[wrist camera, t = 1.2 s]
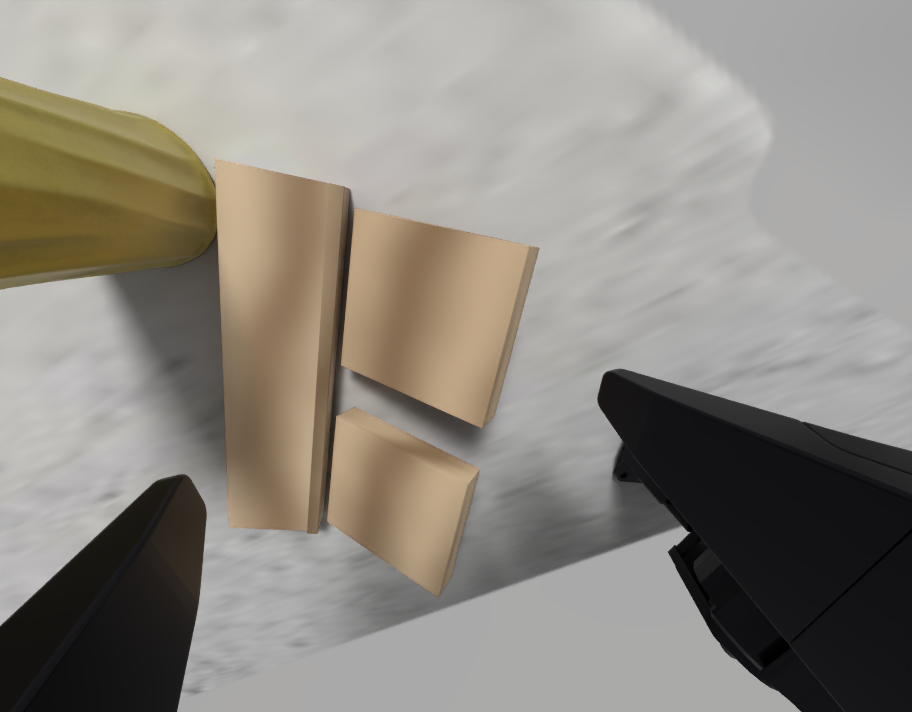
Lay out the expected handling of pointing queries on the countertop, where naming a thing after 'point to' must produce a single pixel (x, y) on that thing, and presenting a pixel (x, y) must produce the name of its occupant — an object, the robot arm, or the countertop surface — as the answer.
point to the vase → (94, 191)
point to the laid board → (278, 340)
